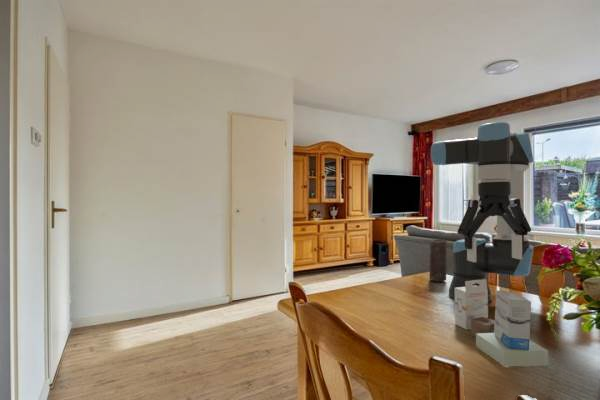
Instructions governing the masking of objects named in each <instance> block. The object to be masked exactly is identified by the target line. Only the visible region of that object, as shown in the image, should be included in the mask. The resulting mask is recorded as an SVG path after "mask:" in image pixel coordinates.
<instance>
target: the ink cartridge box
mask: <svg viewBox="0 0 600 400" xmlns="http://www.w3.org/2000/svg"><path fill="white" fill-rule="evenodd" d="M475 283H477V284H480V285H479V286H476V285H475V286H472V285H473V284H475ZM487 284H488V280H487V278H486V279H483V280H472V281H465V287H457V288H454V289H455V299H454V322H455V323H454V324H455V325H456V326H458V327H461V329H464V330H471V319H474V318H479V317H485V318H488V319H489V302H488V289H487Z"/></svg>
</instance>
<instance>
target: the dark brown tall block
mask: <svg viewBox="0 0 600 400" xmlns="http://www.w3.org/2000/svg"><path fill="white" fill-rule="evenodd" d="M429 280H430V281H433V282H436V283H440V282H445V281H446V280H447V239H445V238H433V239H430V246H429Z"/></svg>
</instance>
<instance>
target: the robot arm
mask: <svg viewBox="0 0 600 400" xmlns="http://www.w3.org/2000/svg"><path fill="white" fill-rule="evenodd" d="M530 138H531V137H530V135H529V133H528V132H523V131H522V132H511V125H510V124H509V122H505V121H497V122H490V123H489V122H488V123H484V124H481V125H479V126H478V128H477V136H476V137H471V138H463V139H453V140H441V141H436V142H433V143H432V145H431V147H430V158H431V159H430V160H431V162H432V164H433V165H435V166H447V165H448V166H449V165H461V164H465V165H475V166H476V165H477V166H478V167H477V178H478V179H477V180H478V181H480V182H479V183H478V184H477V189H478V190H477V195H478V196H479V200H477V199H469V200H468V201H467V208H466V211H465V214H464V216H463V218H462V220H461V223H460V225H458V229H457V234H458V235H461V236H463V237H464V239H458V240H456V241H454V242H453V249H452V250H453V251H452V254H453V255H452V256H453V257H452V262H453V263H452V264H453V265H452V266H453V269H452V270H453V271H452V272H453V273H452V274H453V276H452V279H451V282H450V284H449V285H450V286H449V288H448V296H449V297H450V298H452V299H454V300H455V289H454V288H457V287H465V281H472V280H483V279H486V280H487V274H493V275H495V274H496V275H501V276H512V277H521V278H523V277H527V276H529V274H530V272H531V267H532V261H533V256H534V248H535V247H534V245H532V244H530V241H529V239H528V238H527V237H526V236H527V235H528V233H530V232H532V228H531V226H530V224H529V221H528V220H527V217H526V215H525V209H524V208H525V206H524V205H525V171H527V170H528V169H529V167H530V164H532V163H533V162H534V157H533V156H534V155H533V150H532V145H531V139H530ZM495 216H496V235H494V236H492V238H491V241H492V242H487V240H486V239H485V238H479V237H478V238H477V237H475V234H476V233H477V231H478V230H479V229H480V228H481V226H483V224H484V222H485V221H486V219H488V218H490V217H495ZM475 285H476V286H479V285H480V284H477V283H475V284H473V285H472V286H475ZM487 289H488V303H489V302H491V301H492V292H491V290H490V287H489V283H487Z"/></svg>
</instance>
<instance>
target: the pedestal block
mask: <svg viewBox="0 0 600 400" xmlns="http://www.w3.org/2000/svg"><path fill="white" fill-rule="evenodd" d="M475 347H476V348H477V349H479V350H480V351H481V350H482V351H481V352H483V353H484V354H485V353H486V355H487V356H488V355H489V356H491V357H492V358H493V359H495V360H496V361H497V362H499V363H500V364H501V365H503V366H504V367H503V366H502V367H503V368H507V367H506V366H524V367H542V366H543V367H544V366H549V350H548V349H546V348H545V347H542V346H540V345H539V344H537V343H536V342H534V341H532V340H531V339H529V350H526V349H516V348H508V347H507V346H506V345H505V344H504V343H503V342H502V341H501V340H500V339H498V338H497V337H496V336H495V335H494V333H476V338H475ZM489 356H488V357H489ZM491 357H490V358H491ZM492 358H491V359H492ZM493 359H492V360H493ZM495 360H494V361H495ZM496 361H495V362H496ZM497 362H496V363H497ZM499 363H498V364H499ZM500 364H499V365H500ZM501 365H500V366H501Z"/></svg>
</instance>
